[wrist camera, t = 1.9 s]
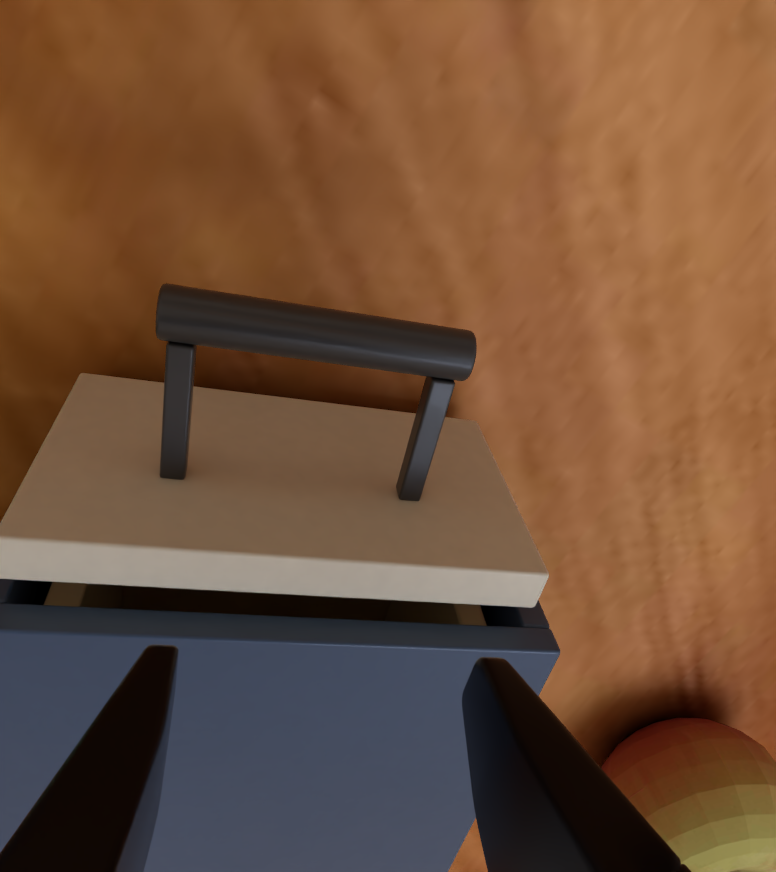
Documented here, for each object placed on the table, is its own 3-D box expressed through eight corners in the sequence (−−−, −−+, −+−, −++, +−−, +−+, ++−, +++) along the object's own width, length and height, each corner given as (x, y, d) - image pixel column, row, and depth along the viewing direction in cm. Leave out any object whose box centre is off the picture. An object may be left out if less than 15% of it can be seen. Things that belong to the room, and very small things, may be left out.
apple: (587, 701, 34) (663, 873, 27) (767, 677, 35) (883, 838, 28) (561, 805, 39) (619, 971, 32) (717, 782, 40) (804, 938, 33)
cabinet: (67, 403, 21) (-52, 629, 13) (473, 448, 24) (562, 652, 17) (77, 698, 28) (3, 951, 21) (386, 704, 31) (421, 925, 24)
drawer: (76, 205, 17) (-35, 316, 11) (522, 283, 20) (629, 406, 14) (86, 673, 26) (28, 874, 20) (390, 681, 29) (419, 859, 23)
